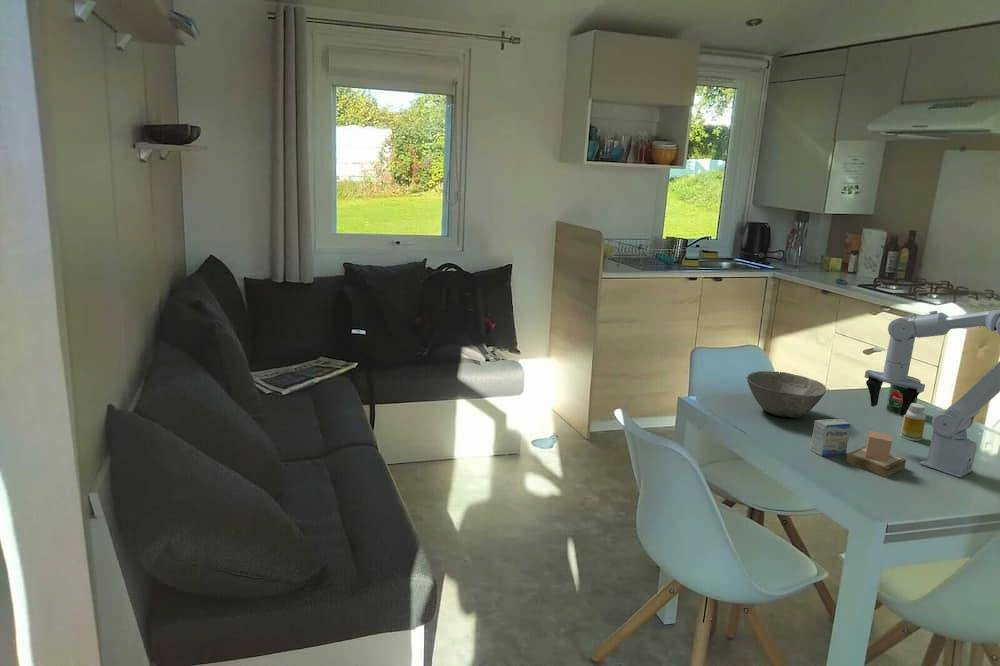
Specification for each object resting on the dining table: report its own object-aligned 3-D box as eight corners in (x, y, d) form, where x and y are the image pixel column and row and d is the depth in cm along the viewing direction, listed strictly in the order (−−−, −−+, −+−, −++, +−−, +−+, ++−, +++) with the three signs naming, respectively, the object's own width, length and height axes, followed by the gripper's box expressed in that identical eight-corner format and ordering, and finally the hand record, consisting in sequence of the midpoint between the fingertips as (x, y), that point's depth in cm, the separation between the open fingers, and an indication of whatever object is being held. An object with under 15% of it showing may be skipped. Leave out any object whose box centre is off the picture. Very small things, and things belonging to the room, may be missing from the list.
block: (887, 454, 181) (891, 434, 180) (888, 461, 177) (892, 441, 175) (865, 450, 183) (869, 430, 182) (865, 457, 179) (869, 436, 177)
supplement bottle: (924, 442, 198) (931, 409, 195) (903, 440, 199) (910, 407, 196) (917, 435, 203) (924, 403, 200) (897, 433, 204) (903, 401, 201)
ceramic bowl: (798, 433, 200) (803, 399, 198) (727, 409, 217) (731, 377, 215) (836, 417, 214) (841, 386, 212) (766, 396, 231) (771, 366, 229)
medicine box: (820, 456, 184) (826, 425, 182) (809, 449, 189) (814, 419, 187) (846, 454, 187) (851, 423, 184) (834, 448, 191) (839, 417, 189)
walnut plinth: (904, 468, 180) (906, 458, 179) (885, 477, 174) (887, 467, 173) (865, 454, 187) (866, 445, 187) (845, 462, 181) (847, 453, 181)
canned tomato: (907, 408, 225) (913, 375, 222) (918, 417, 218) (925, 383, 215) (881, 406, 226) (887, 373, 223) (891, 415, 218) (898, 381, 216)
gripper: (933, 366, 184) (923, 415, 188) (877, 352, 195) (868, 399, 199) (922, 370, 180) (911, 420, 184) (864, 356, 191) (855, 403, 194)
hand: (888, 410), depth 191 cm, fingers open, 7 cm apart
